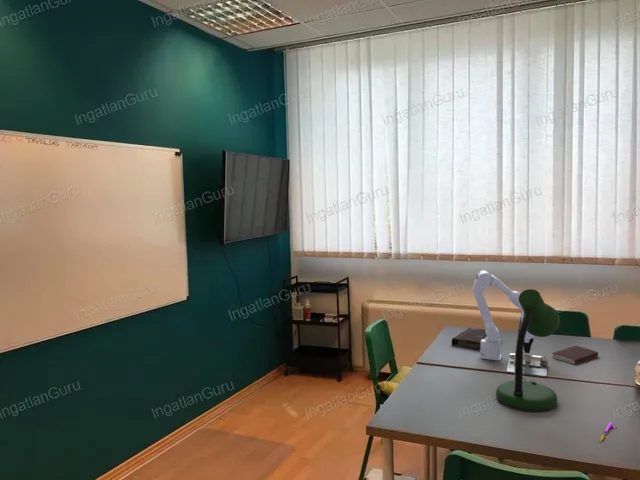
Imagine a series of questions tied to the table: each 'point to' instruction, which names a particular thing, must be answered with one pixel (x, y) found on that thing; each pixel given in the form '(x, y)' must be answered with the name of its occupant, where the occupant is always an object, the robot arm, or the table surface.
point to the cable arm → (531, 358)
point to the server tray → (529, 368)
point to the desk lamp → (519, 392)
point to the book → (575, 354)
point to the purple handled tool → (607, 430)
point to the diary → (470, 338)
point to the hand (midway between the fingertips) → (527, 352)
